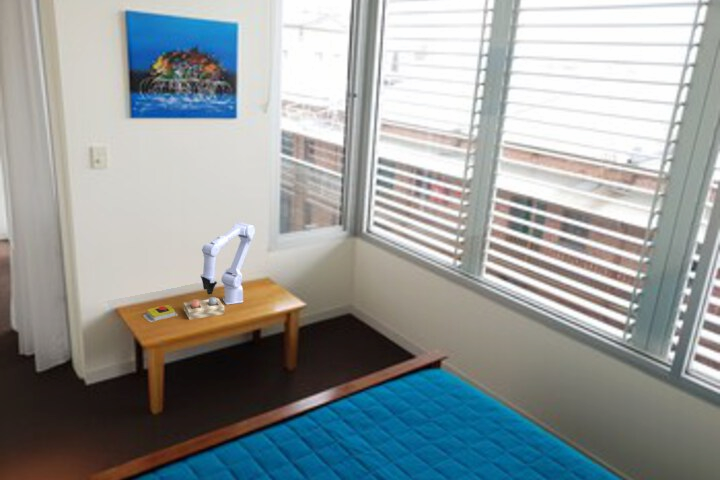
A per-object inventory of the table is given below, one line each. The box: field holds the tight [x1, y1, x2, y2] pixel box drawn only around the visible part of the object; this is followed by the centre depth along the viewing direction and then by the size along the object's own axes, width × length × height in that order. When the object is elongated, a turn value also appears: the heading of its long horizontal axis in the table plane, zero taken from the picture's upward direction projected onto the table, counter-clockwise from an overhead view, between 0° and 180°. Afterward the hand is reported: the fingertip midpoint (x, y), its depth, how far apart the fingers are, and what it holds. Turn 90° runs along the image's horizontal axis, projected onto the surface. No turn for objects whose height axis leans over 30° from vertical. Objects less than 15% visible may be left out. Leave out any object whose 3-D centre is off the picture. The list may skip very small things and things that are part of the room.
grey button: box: [208, 296, 218, 306], centre depth 295 cm, size 4×4×4 cm
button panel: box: [183, 297, 226, 320], centre depth 294 cm, size 18×12×4 cm, turn 119°
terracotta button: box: [190, 298, 200, 309], centre depth 291 cm, size 4×4×4 cm
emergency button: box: [143, 304, 179, 323], centre depth 287 cm, size 9×4×15 cm
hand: (207, 291), depth 292 cm, fingers open, 7 cm apart
